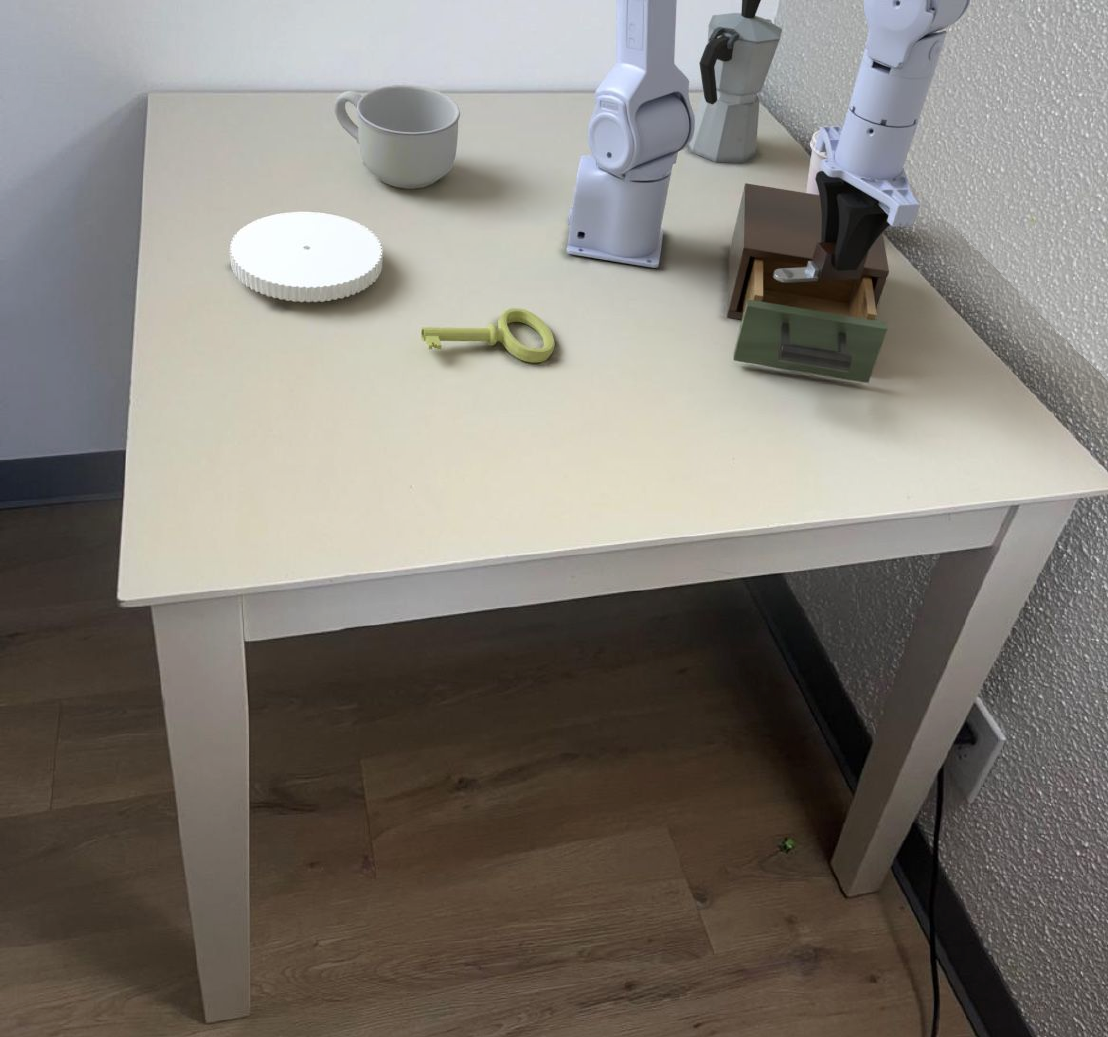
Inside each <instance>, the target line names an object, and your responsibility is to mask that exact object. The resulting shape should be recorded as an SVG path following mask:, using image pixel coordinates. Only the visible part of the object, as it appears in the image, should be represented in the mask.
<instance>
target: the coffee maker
mask: <svg viewBox="0 0 1108 1037" xmlns="http://www.w3.org/2000/svg"><path fill="white" fill-rule="evenodd" d="M761 1H762V0H741V12H732V13H731V12H730V13H723V14H721V13H720V14H716V15H715V14H714V15H712V16H711V18H710V21H709V23H708V30H707V32H708V33H707V44H706V45H705V47H704V50H703V52H702V55H701V58H700V60H699V63H698V64H699V70H700V77H701V84H702V93H701V95H700V98H699V101H698V104H697V105H696V106H697V107H696V109H695V112H694V118H695V130H694V134H693V137H692V140H691V141H690V143H689V144H688V146H687V147H688V149H689V151H690V153H692V154H694V155H696V156H698V157H702V158H704V159H706V160H709V161H712V162H714V163H726V164H727V163H728V164H729V163H730V164H744V163H745V162H747V161H748V160H750V159H751V158H753V157H754V156H756V154H757V144H758V142H757V140H758V128H759V114H760V98H759V95H758V94H759V93H761V92H762V90H763V87H764V84H765V82H766V79H767V76H768V74H769V71H770V68H771V65H772V62H773V60H774V57H775V54H776V51H777V49H778V45H779V44H780V40H781V36H782V33H783V28H782V27H780V26H778V25H776V24H775V23H773V21H772V19H768V18H764V17H761V16H758V15H757V11H758V10H759V7H760V4H761Z"/></svg>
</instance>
